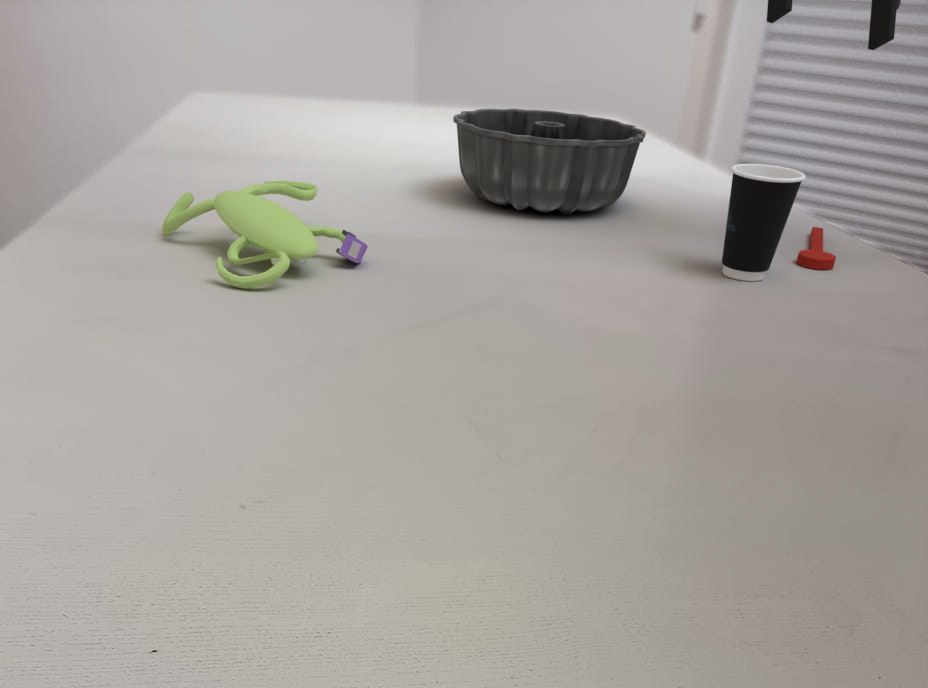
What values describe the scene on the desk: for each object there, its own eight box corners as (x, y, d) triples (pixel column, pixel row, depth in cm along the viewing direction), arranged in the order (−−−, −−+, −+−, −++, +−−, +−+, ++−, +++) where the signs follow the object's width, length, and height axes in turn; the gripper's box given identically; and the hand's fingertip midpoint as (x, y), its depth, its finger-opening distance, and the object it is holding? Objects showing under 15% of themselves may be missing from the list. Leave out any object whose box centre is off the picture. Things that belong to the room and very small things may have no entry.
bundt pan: (539, 174, 145) (546, 102, 139) (671, 211, 130) (686, 132, 124) (411, 191, 131) (413, 112, 125) (543, 235, 116) (553, 146, 110)
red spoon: (832, 237, 123) (835, 227, 123) (833, 272, 110) (836, 261, 109) (799, 232, 124) (801, 223, 124) (795, 266, 111) (798, 256, 110)
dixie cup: (792, 280, 106) (821, 176, 99) (744, 288, 102) (770, 180, 95) (742, 262, 111) (766, 161, 104) (694, 268, 107) (716, 165, 101)
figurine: (299, 217, 116) (297, 168, 113) (397, 277, 98) (398, 221, 95) (154, 228, 108) (147, 176, 105) (231, 295, 90) (226, 235, 87)
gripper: (909, -145, 98) (891, 69, 102) (721, -217, 89) (708, 21, 92) (972, -192, 91) (950, 39, 95) (776, -276, 82) (759, -16, 85)
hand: (831, 31), depth 93 cm, fingers open, 13 cm apart
